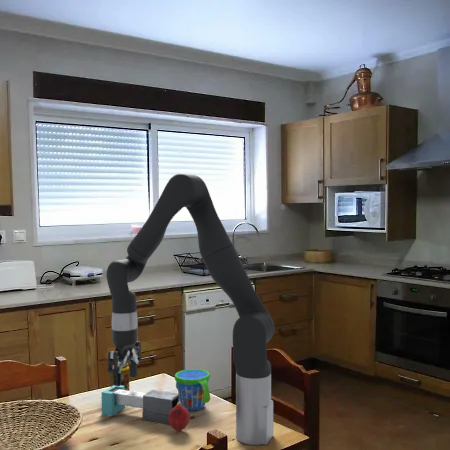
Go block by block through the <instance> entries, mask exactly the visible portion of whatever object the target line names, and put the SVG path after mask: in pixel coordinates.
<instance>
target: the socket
mask: <svg viewBox="0 0 450 450" xmlns="http://www.w3.org/2000/svg"><path fill="white" fill-rule="evenodd" d="M114 389H120V390H125V386H122V385H121V386H114V385H113V386H112V387H111V386H110V387H108V388H107V389H105V390H102V391H101V397H102V398H101V415H104V416H110V417H112V416H114V415H116V414H117V413H119V412H120V411H122V410H123V409H125V408H126V406H125V405H119V404H114V392H111V391H112V390H114Z"/></svg>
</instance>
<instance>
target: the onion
mask: <svg viewBox="0 0 450 450" xmlns="http://www.w3.org/2000/svg"><path fill="white" fill-rule="evenodd" d="M181 404H182V403H181V402H180V401H179V402H178V403H177V405H176V406H175V407H174V408H173V409H172V410H171V411H170V413H169V417H168V421H169V424H170V425H169V426H170V427H171V428H172V429H173V430H174V431H176V432H179V433H180V432H182V430H184V429H185V428H186V427H187V426H188V425H189V424H190V419H191V418H190V417H191V416H190V413H189V411H188V410H187V409H186V408H185V407H184V406H182V405H181Z"/></svg>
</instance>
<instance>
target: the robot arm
mask: <svg viewBox="0 0 450 450" xmlns="http://www.w3.org/2000/svg"><path fill="white" fill-rule="evenodd" d="M184 208H186V210H187V211H188V213H189V214H190V217H191V219H192V220H193V222H194V225H195V228H196V231H197V233H196V234H197V242H198V250H199V253H200V254H199V255H200V256H201V259H202V261H203V263H204V265H205V267H206V269H207V272H208V273H209V275H210V277H211V278H212V280H213V281H214V282H215V284H216V285H218V287H219V288H220V289H221V290H222V291H223V292H224V293H225V294H226V295H227V297H228V298H229V299H230V300H231V302H232V303H233V305H234V308H235V310H236V312H237V314H238V317H239V318H238V319H236V321H235V322H234V324H233V329H232V357H233V363H234V366H235V396H236V397H235V437H236V439H237V441H239V442H241V443H242V444H245V445H250V446H251V445H252V446H260V445H268V444H269V442H271V439H272V438H273V437H274V400H273V399H272V364H271V362H270V361H269V360H268V356H267V355H268V351H267V344H268V343H269V342H270V340H271V339H272V338H273V336H274V334H275V323H274V320H273V318H272V317H271V315H270V313H269V311H268V310H267V308H266V306H265V305H264V303H263V302H262V300H261V298H260V297H259V295H258V294H257V292H256V290H255V288H254V286H253V285H252V282H251V279H250V278H249V275H248V273H247V272H246V270H245V269H246V268H244V265H243V263H242V261H241V259H240V256H239V255H238V252H237V249H235V246H234V245H233V242H232V241H231V237H229V235H228V233H227V231H226V228H225V227H224V224H223V223H222V221H221V219H220V217H219V215H218V213H217V211H216V208H215V205H214V203H213V200H212V197H211V193H210V192H209V189H208V187H207V183H206V182H205V181H204V179H202V178H201V177H200V176H198V175H195V174H191V173H185V172H183V173H176V174H175V175H173V176H172V177H171V178H170V179H169V180H167V183H166V185H165V186H164V188H163V190H162V192H161V194H160V196H159V198H158V200H157V202H156V204H155V205H154V207H153V209H152V210H151V213H150V214H149V215H148V218H147V219H146V221H145V223H144V224H143V225H142V227H141V228H140V229H139V231H138V232H137V234H136V235H135V236H134V238H133V239H132V240H131V241H130V243H129V244H128V245H127V249H126V253H127V256H126V257H125V258H124V259H117V260H112V262H110V263H109V265H108V266H107V269H106V281H107V282H106V283H107V286H108V289H109V293H110V295H111V298H112V299H111V302H112V303H111V307H112V308H111V309H112V312H111V313H112V315H111V343H112V344H113V345H114V347H115V349H114V350H112V351H108V355H107V359H108V360H107V372H108V373H113V383H114V386H121V371H122V368H123V366H125V363H126V362H127V361H128V363H130V364H129V378H137V376H138V364H139V361H142V342H141V341H139V332H138V331H139V330H138V329H139V328H138V327H139V326H138V323H139V322H138V313H137V312H138V311H137V296H136V293H135V292H134V291H132V290H130V287H129V283H131V282H134V281H136V280H137V279H138V278H139V277H140V276H141V275H142V273H143V272H144V270H145V267H146V265H147V263H148V260H149V259H150V257H152V255H153V254H154V252H155V251H156V250H157V249H158V247H160V244H161V243H162V242H163V239H164V237H165V234H166V231H167V228H168V226H169V224H170V222H171V221H172V220H173V218H174V217H175V216H176V215H177V214H178V213H179V212H180V211H181V210H182V209H184ZM118 360H119V361H120V362H118ZM112 364H113V368H112ZM118 366H119V368H118Z"/></svg>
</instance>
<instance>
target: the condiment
mask: <svg viewBox="0 0 450 450" xmlns="http://www.w3.org/2000/svg"><path fill="white" fill-rule="evenodd" d="M118 362H120V361H119V360H118ZM112 368H113V364H112ZM118 368H119V366H118ZM109 373H110V372H109ZM109 375H110V378H109V379H110V387H112V386H113V385H114V383H113V373H110V374H109ZM121 385H122V386H125V390H127V391H130V365H129V361H127V362H126V363H125V366H123V368H122V371H121ZM101 399H102V396H101Z"/></svg>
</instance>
